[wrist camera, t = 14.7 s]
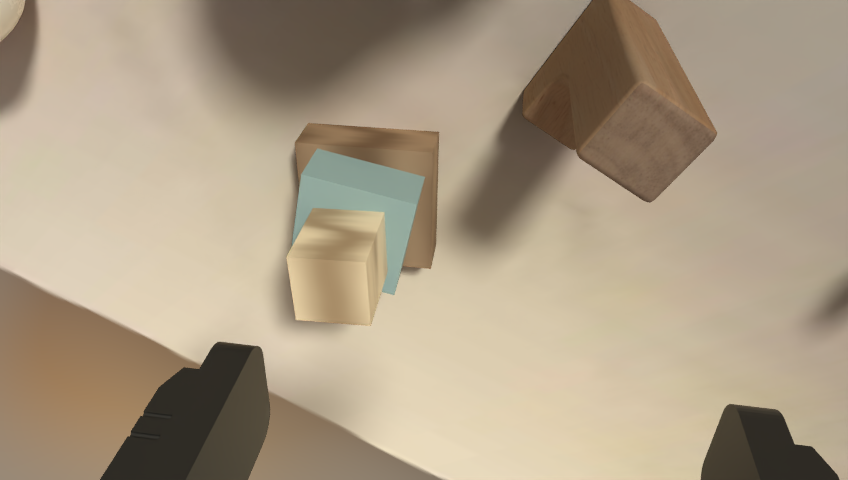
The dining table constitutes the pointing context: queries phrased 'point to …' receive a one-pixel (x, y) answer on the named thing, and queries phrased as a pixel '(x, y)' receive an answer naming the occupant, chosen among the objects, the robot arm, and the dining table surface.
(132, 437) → the robot arm
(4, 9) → the lidded jar
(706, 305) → the dining table surface
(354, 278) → the maple block
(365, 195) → the tower top
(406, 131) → the tower base
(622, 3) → the wooden block
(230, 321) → the dining table surface
